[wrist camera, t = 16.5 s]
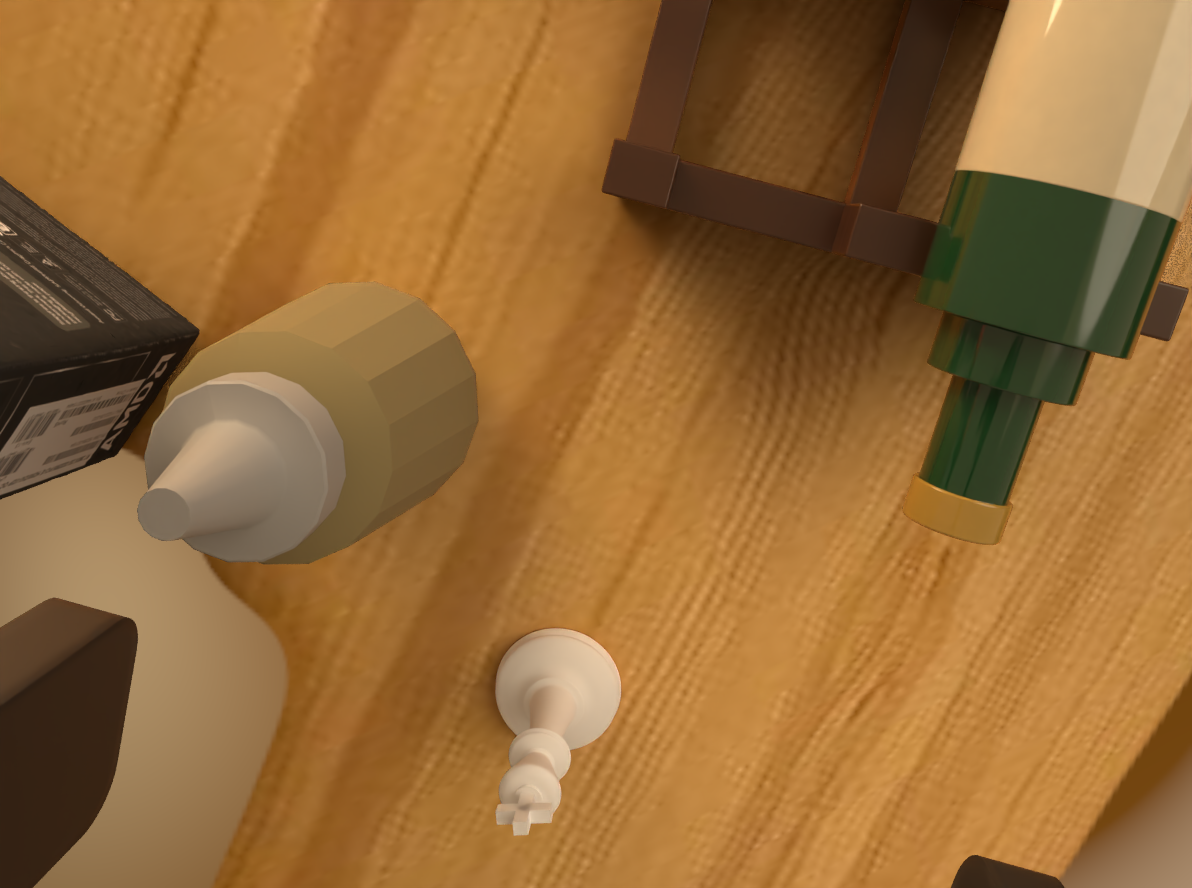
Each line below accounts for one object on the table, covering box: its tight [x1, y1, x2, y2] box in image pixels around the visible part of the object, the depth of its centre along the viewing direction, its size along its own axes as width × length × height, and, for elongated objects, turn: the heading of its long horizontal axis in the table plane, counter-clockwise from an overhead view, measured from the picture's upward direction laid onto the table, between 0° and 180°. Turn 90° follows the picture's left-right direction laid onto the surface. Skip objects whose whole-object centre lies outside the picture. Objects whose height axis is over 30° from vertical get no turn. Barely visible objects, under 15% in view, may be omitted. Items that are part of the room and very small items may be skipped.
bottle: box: [902, 0, 1192, 545], centre depth 30 cm, size 18×6×6 cm, turn 166°
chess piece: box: [495, 628, 621, 835], centre depth 37 cm, size 5×5×10 cm
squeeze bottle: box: [137, 282, 478, 564], centre depth 32 cm, size 8×8×18 cm
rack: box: [602, 0, 1189, 341], centre depth 34 cm, size 11×17×6 cm, turn 76°
